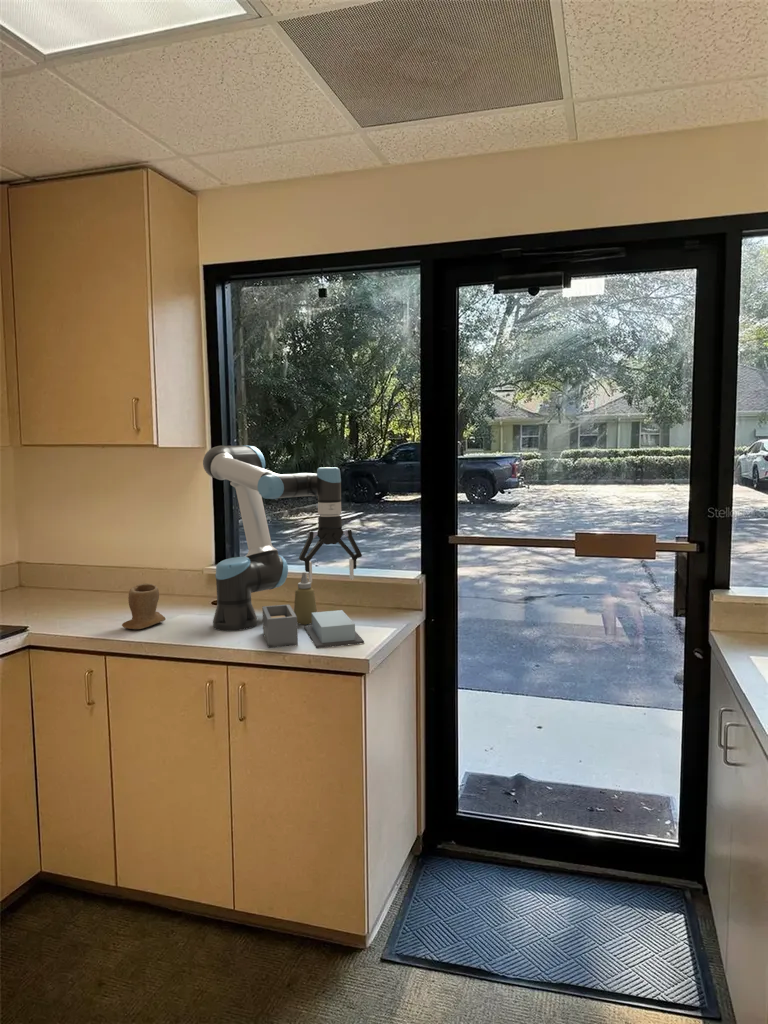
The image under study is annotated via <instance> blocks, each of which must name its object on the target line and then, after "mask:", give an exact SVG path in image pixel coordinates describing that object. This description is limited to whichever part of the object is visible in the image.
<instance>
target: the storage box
mask: <svg viewBox="0 0 768 1024" xmlns="http://www.w3.org/2000/svg"><path fill="white" fill-rule="evenodd" d="M261 608H262V632H263V637H264V639H265V642H266V644H267V647H268V649H275V648H283V647H292V646H295V645H296V646H298V645H299V640H298V639H299V637H298V635H299V634H298V623H297V616H296V614H295V613H294V608H292V606H291V605H290V604H278V605H277V604H276V605H265V606H262V607H261Z"/></svg>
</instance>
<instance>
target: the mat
mask: <svg viewBox="0 0 768 1024" xmlns="http://www.w3.org/2000/svg"><path fill="white" fill-rule="evenodd" d="M303 626H304V625H303ZM304 630H305V631H307V632H306V633H307V635H308V637H309V636H310V637H309V638H310V640H311V641H313V642H312V643H313V645H314V646H316V647H315V648H316V649H321V648H322V649H323V648H333V647H332V646H334V647H342V646H341V645H344V646H349V645H348V644H354V645H358V644H357V643H364V644H365V640H364V639H363V638H362V637H361V636H360V634H359V633H358V632H357V631H356V630H355V640H348V641H338V642H327V643H322V642H321V641H320V639H319V637H318V636H317V634H316V633H315V631H314V630H313V628H312V625H305V626H304Z"/></svg>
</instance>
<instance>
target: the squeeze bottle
mask: <svg viewBox="0 0 768 1024" xmlns="http://www.w3.org/2000/svg"><path fill="white" fill-rule="evenodd" d="M301 574H302V575H301V579H300V582H297V589H296V590H295V591H294V607H293V611H294V613H295V614H296V616H297V625H302V626H304V625H305V626H308V625H312V613H313V612H318V611H317V605H316V596H315V595H316V594H315V589H314V588H312V583H310V582H309V578H308V576H307V572H306V571H305V572H302V573H301ZM307 624H308V625H307Z"/></svg>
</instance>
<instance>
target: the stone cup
mask: <svg viewBox="0 0 768 1024" xmlns="http://www.w3.org/2000/svg"><path fill="white" fill-rule="evenodd" d="M159 590H160V589H159V587H158V586H157V585H156V584H153V583H138V584H136V585H134V586H133V587H131V588H130V589H129V590H128V591H129V592H128V596H127V597H128V599H127V600H128V606H129V610H130V612H131V619H129V620H127V621H124V622H122V624H121V626H122V627H123V628H124V629H129V630H141V629H142V630H143V629H146V628H148V627H151V626H153V625H156V624H159V623H162V622H164V621H165V620H166V617H165V615H163V614H161V613H160V612H159V611H157V607H158V603H159V600H160V591H159Z"/></svg>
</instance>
